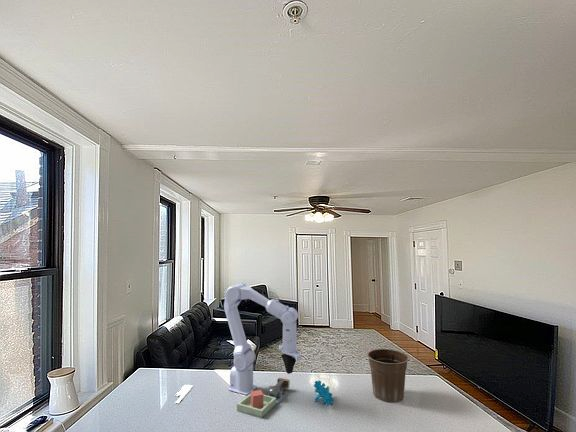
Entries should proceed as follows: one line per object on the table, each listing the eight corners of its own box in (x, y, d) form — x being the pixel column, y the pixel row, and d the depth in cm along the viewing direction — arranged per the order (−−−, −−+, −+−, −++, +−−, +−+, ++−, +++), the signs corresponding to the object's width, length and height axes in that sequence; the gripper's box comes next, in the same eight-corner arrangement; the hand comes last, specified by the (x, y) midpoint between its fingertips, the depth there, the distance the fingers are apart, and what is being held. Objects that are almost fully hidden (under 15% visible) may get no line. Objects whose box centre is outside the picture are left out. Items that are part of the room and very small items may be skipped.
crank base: (263, 400, 134) (263, 398, 134) (275, 389, 143) (275, 388, 143) (277, 404, 131) (277, 402, 131) (288, 393, 140) (288, 391, 140)
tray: (236, 410, 126) (236, 403, 126) (252, 398, 136) (252, 391, 136) (261, 418, 121) (261, 411, 121) (276, 404, 131) (276, 397, 131)
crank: (277, 400, 132) (277, 392, 132) (266, 398, 134) (266, 389, 134) (289, 387, 143) (289, 379, 143) (278, 385, 145) (278, 377, 145)
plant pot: (385, 409, 128) (385, 365, 128) (359, 390, 142) (359, 351, 143) (417, 400, 134) (417, 359, 135) (390, 383, 149) (389, 346, 150)
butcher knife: (166, 404, 131) (166, 401, 131) (182, 386, 146) (182, 384, 146) (178, 405, 131) (178, 402, 131) (193, 387, 146) (193, 384, 146)
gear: (329, 406, 126) (312, 382, 130) (318, 416, 127) (302, 392, 132) (338, 398, 136) (323, 376, 140) (328, 407, 137) (313, 384, 141)
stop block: (252, 409, 126) (253, 396, 126) (250, 404, 130) (250, 391, 130) (263, 408, 127) (263, 394, 127) (260, 402, 131) (260, 389, 131)
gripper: (307, 342, 134) (307, 377, 133) (288, 332, 146) (288, 364, 146) (292, 345, 130) (292, 381, 130) (274, 335, 143) (274, 368, 142)
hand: (289, 372), depth 138 cm, fingers closed
